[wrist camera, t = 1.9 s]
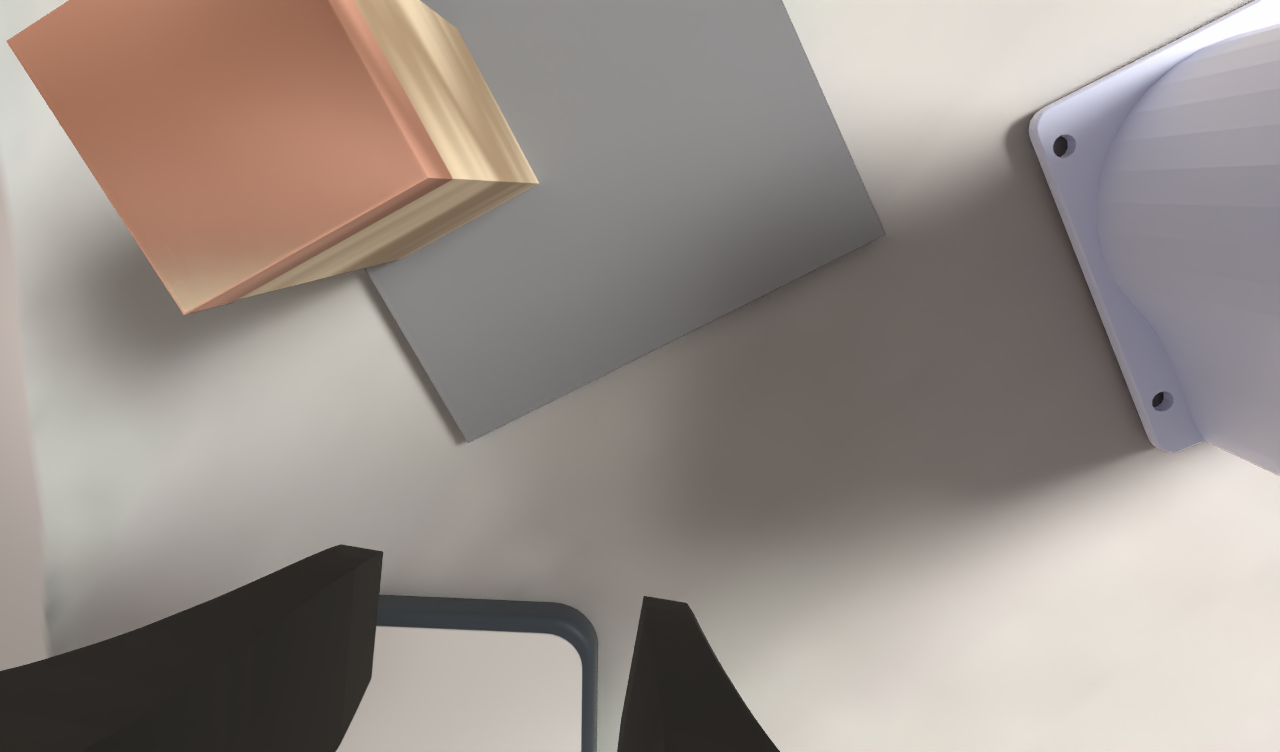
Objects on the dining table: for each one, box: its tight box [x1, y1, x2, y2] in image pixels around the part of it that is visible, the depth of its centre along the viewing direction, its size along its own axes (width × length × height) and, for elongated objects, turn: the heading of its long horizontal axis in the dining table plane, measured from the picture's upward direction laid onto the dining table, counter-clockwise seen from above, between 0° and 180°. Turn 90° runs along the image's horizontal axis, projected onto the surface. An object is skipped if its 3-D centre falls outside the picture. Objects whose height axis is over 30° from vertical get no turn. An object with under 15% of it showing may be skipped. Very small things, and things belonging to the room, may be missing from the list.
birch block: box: [7, 0, 539, 315], centre depth 14 cm, size 4×4×9 cm
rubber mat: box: [365, 0, 886, 443], centre depth 18 cm, size 18×12×1 cm, turn 27°
